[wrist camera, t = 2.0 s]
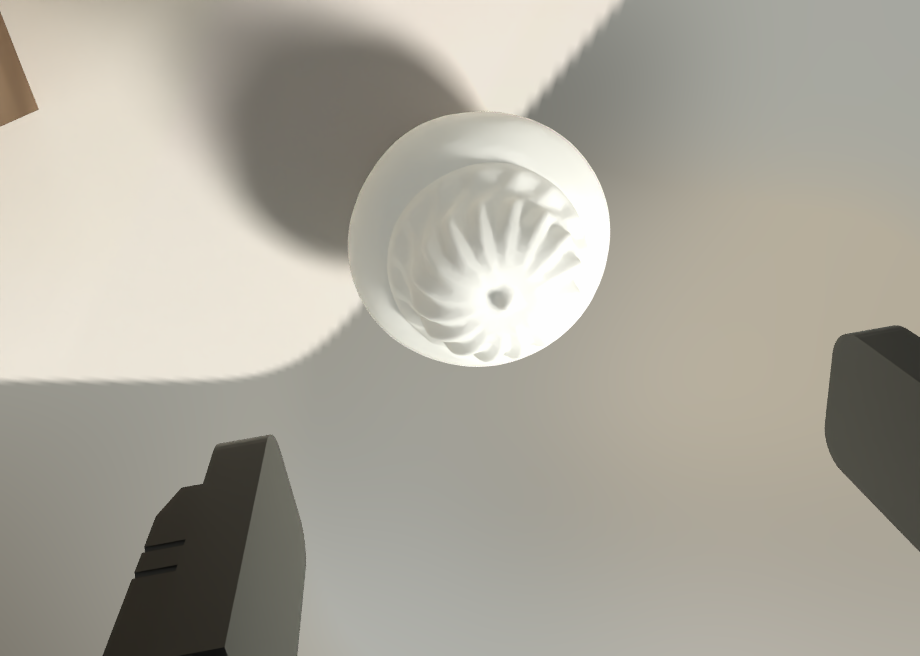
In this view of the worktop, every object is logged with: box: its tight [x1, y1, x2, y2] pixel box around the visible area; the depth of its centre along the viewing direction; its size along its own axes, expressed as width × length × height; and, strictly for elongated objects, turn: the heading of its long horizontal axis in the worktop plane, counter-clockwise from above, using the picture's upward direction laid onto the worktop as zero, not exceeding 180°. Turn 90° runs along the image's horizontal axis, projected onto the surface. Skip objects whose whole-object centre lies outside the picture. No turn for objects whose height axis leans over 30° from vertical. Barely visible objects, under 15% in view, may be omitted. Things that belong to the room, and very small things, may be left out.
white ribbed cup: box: [348, 111, 610, 367], centre depth 17 cm, size 6×6×7 cm
